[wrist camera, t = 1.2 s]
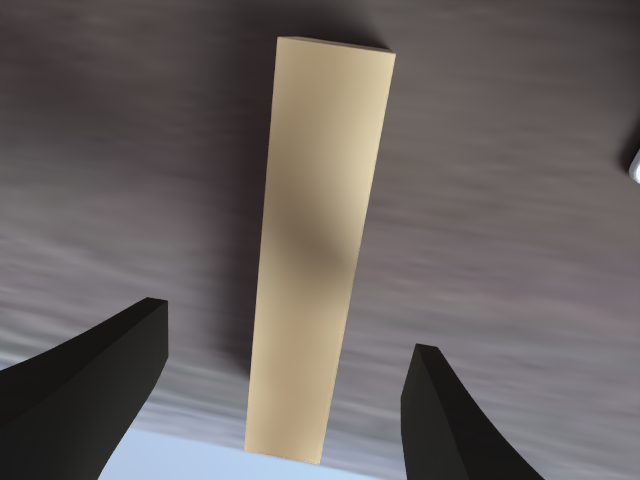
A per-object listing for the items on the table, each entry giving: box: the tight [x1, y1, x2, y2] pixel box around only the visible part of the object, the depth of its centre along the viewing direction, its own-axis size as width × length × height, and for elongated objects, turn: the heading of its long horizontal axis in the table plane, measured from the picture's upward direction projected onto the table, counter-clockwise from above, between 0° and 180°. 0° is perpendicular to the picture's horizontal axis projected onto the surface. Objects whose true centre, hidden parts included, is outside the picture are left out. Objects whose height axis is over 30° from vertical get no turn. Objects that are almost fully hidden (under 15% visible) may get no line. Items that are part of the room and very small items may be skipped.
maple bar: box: [244, 36, 396, 464], centre depth 17 cm, size 3×16×4 cm, turn 172°
